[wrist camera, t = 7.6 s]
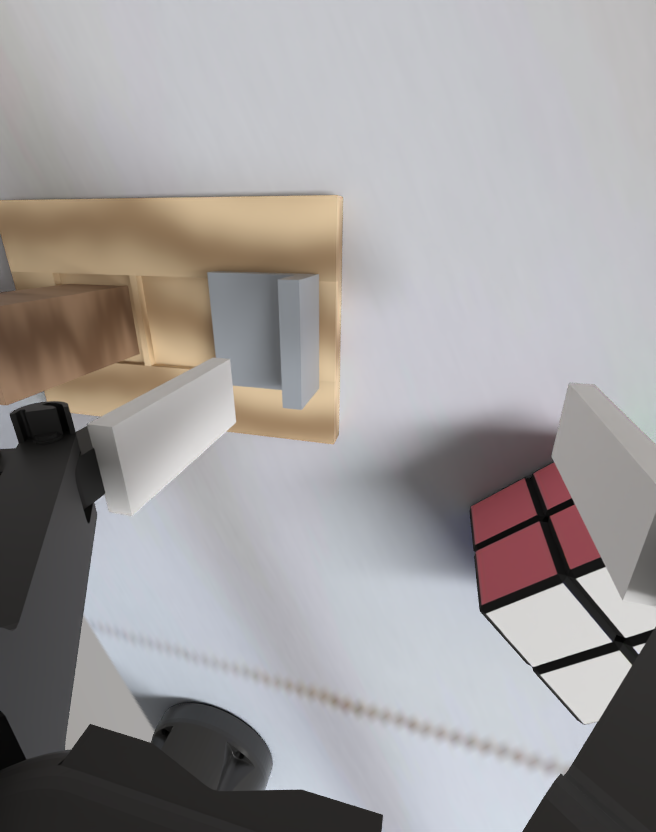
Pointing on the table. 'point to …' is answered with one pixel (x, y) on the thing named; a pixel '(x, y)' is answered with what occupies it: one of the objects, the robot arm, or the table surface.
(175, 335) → the puzzle board
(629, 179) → the table surface
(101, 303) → the walnut block
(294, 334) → the slide cover
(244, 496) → the table surface
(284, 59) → the table surface
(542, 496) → the puzzle cube
